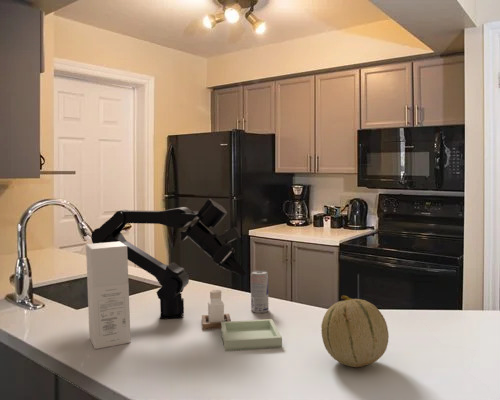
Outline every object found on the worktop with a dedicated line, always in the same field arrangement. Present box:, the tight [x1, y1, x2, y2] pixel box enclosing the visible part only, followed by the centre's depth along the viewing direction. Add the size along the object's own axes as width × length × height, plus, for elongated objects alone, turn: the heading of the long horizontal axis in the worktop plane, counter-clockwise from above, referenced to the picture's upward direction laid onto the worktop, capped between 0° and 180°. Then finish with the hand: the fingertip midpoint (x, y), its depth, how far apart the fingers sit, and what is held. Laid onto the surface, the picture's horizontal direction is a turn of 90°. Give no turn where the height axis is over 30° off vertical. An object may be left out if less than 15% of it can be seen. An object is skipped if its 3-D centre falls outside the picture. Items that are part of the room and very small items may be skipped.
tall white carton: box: [85, 241, 131, 350], centre depth 118 cm, size 9×9×25 cm
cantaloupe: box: [320, 294, 390, 368], centre depth 102 cm, size 15×15×15 cm
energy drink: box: [250, 270, 269, 314], centre depth 141 cm, size 5×5×12 cm
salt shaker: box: [207, 289, 225, 323], centre depth 130 cm, size 4×4×10 cm
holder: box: [201, 313, 232, 331], centre depth 130 cm, size 8×8×2 cm
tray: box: [220, 318, 283, 352], centre depth 118 cm, size 14×14×2 cm
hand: (244, 274), depth 133 cm, fingers open, 9 cm apart
